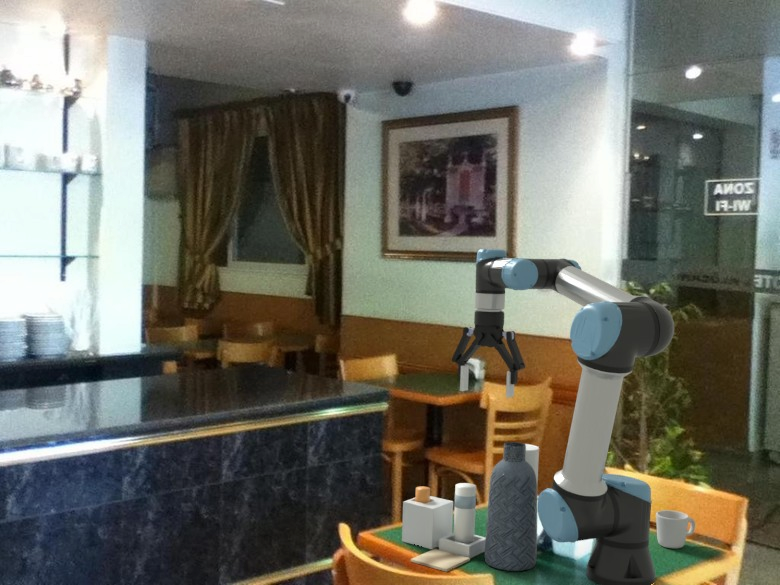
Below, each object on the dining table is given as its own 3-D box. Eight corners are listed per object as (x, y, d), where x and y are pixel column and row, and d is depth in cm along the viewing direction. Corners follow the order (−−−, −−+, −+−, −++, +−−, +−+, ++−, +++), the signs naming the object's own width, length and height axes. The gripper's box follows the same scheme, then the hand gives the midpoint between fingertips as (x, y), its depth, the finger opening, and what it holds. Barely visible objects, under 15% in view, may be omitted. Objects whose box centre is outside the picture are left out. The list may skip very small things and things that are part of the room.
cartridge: (477, 550, 232) (480, 485, 231) (466, 555, 228) (469, 489, 227) (460, 545, 235) (462, 481, 234) (448, 550, 231) (451, 485, 230)
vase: (521, 576, 215) (526, 452, 213) (474, 564, 222) (479, 444, 220) (545, 562, 225) (550, 444, 223) (499, 550, 232) (504, 436, 230)
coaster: (469, 560, 224) (470, 558, 224) (446, 571, 216) (446, 569, 216) (434, 551, 230) (434, 548, 230) (410, 561, 222) (410, 559, 222)
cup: (683, 538, 246) (685, 508, 245) (703, 548, 238) (705, 517, 238) (648, 542, 242) (649, 511, 242) (667, 552, 235) (668, 520, 234)
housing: (488, 549, 232) (489, 509, 232) (468, 559, 225) (469, 517, 224) (422, 532, 244) (423, 494, 243) (401, 541, 237) (403, 501, 236)
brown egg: (432, 511, 238) (432, 488, 238) (423, 514, 236) (424, 491, 235) (420, 508, 241) (421, 485, 240) (412, 512, 238) (412, 488, 237)
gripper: (540, 312, 236) (537, 397, 237) (455, 306, 250) (453, 386, 252) (526, 314, 230) (523, 401, 231) (440, 307, 244) (437, 389, 246)
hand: (486, 393), depth 241 cm, fingers open, 13 cm apart
